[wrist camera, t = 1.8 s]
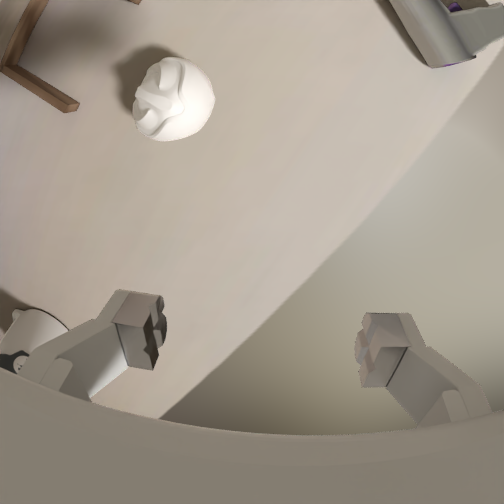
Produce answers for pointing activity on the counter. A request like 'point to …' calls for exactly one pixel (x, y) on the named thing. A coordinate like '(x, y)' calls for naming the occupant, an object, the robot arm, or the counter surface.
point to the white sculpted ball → (173, 100)
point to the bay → (22, 75)
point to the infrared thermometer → (450, 29)
